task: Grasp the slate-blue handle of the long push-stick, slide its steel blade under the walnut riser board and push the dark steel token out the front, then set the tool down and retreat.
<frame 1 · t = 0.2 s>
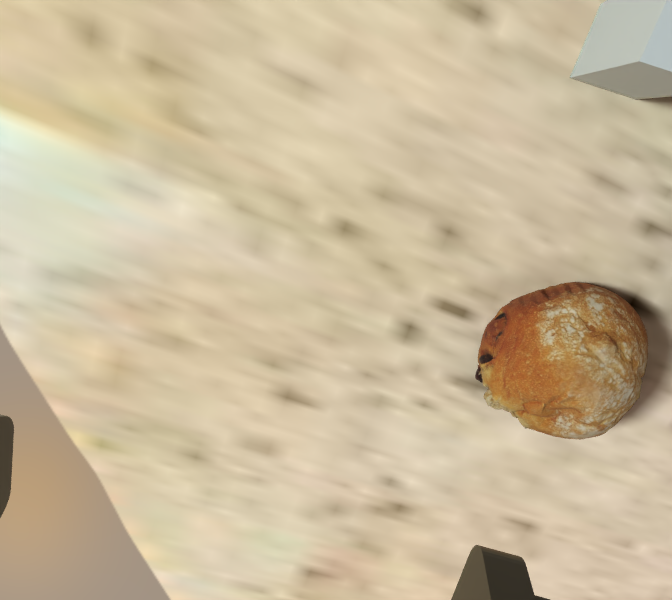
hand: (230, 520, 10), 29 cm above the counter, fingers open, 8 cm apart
blade tool: (618, 52, 32), on the counter
bread roll: (550, 349, 38), on the counter
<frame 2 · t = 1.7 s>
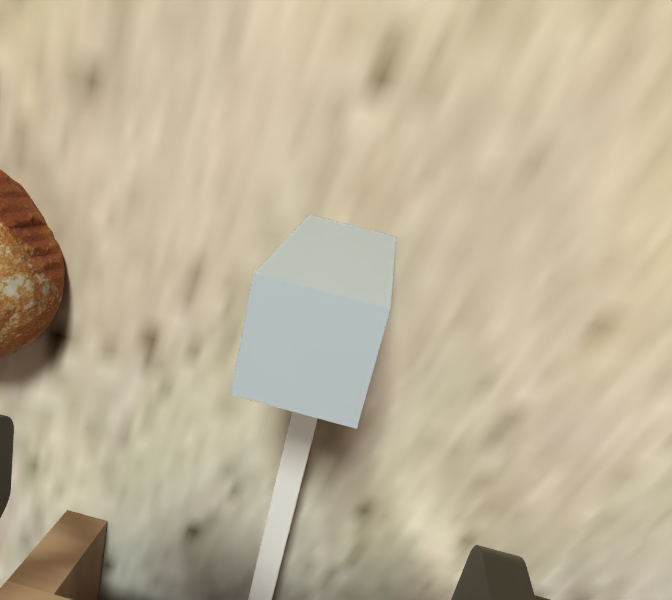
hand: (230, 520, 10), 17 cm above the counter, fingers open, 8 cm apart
blade tool: (342, 267, 26), on the counter
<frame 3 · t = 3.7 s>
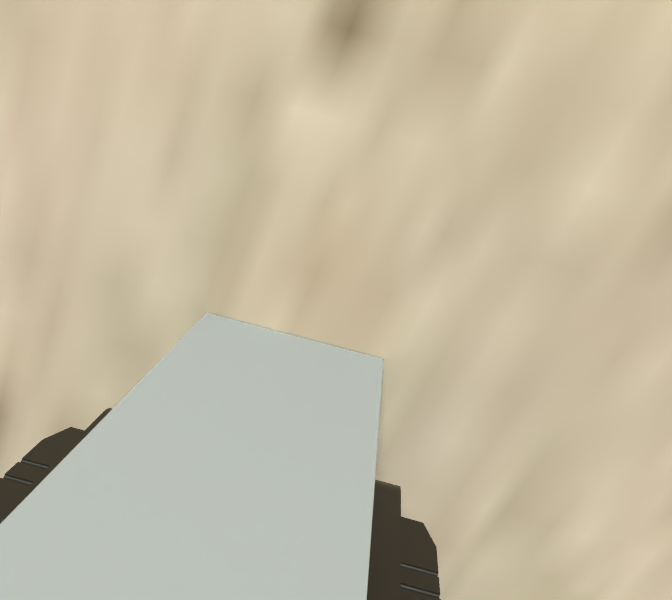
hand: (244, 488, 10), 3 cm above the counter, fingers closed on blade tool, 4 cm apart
blade tool: (276, 413, 13), on the counter, touching gripper
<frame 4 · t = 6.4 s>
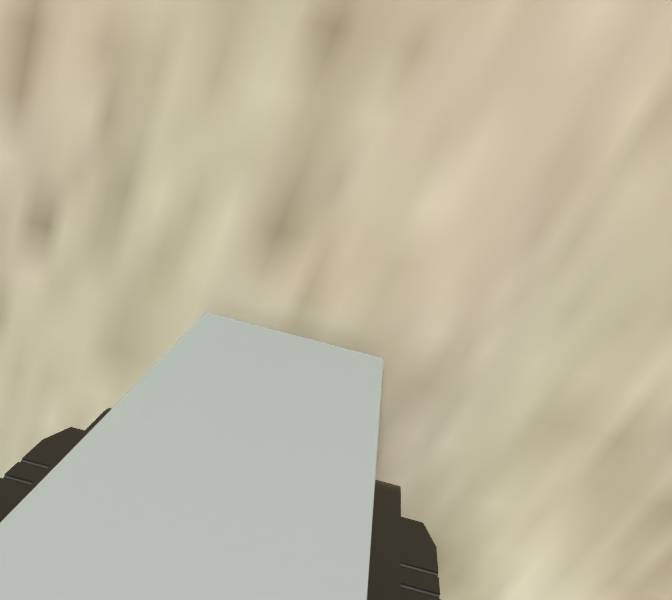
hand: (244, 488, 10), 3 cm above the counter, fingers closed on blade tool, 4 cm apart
blade tool: (276, 413, 13), on the counter, touching gripper
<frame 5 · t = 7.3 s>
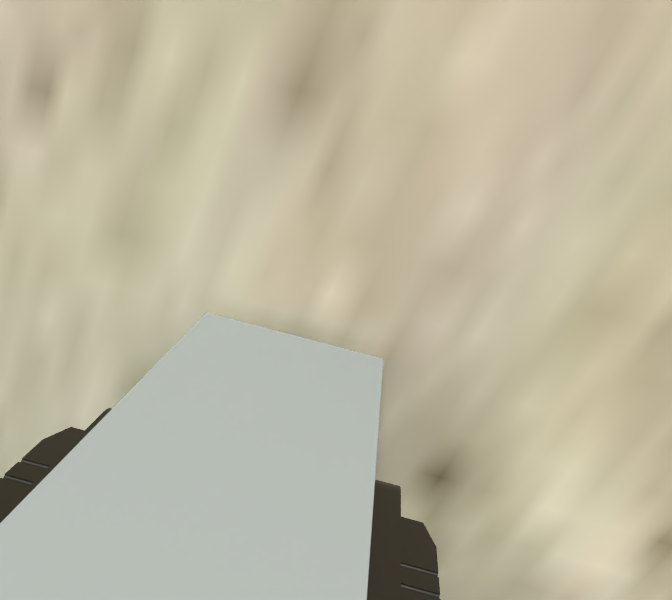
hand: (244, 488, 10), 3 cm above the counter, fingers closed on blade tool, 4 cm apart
blade tool: (276, 413, 13), on the counter, touching gripper, token
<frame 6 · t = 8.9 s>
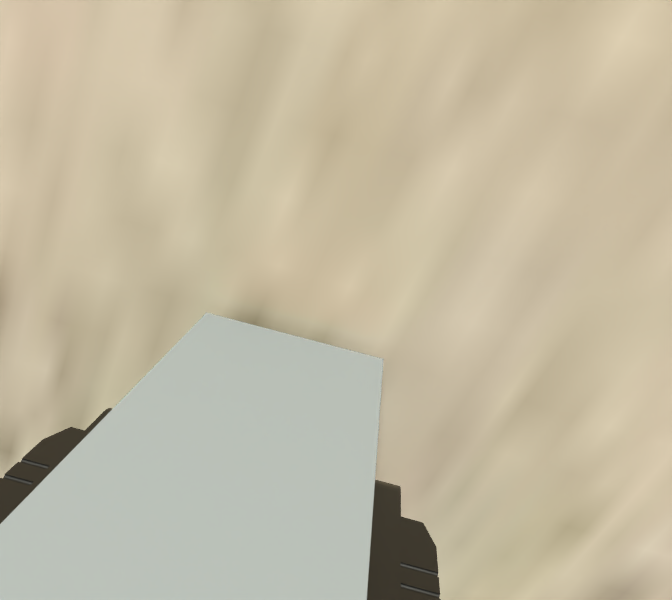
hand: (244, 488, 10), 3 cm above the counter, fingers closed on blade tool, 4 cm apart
blade tool: (276, 413, 13), on the counter, touching gripper
when the fingers open (3 cm above the counter, at t = 9.7 s): blade tool stays where it is, on the counter.
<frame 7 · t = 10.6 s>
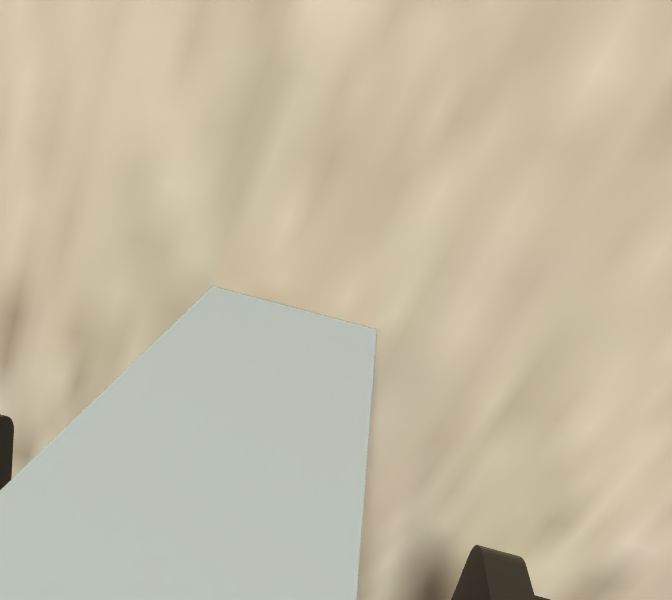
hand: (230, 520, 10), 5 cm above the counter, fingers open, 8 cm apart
blade tool: (277, 381, 14), on the counter
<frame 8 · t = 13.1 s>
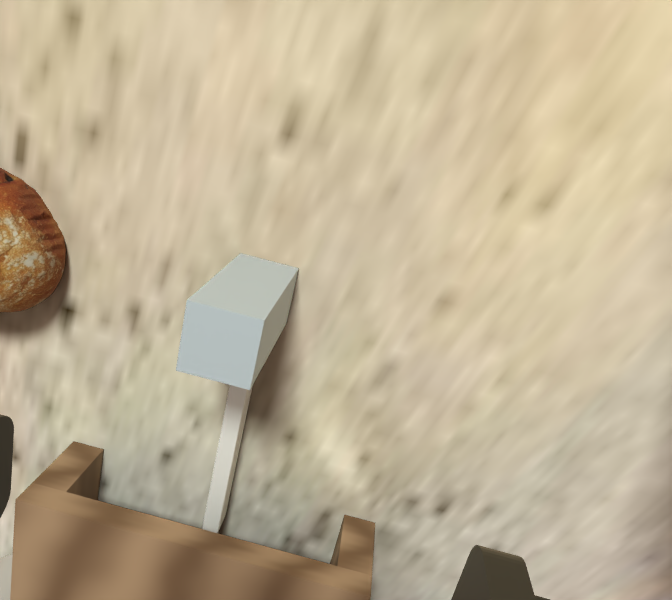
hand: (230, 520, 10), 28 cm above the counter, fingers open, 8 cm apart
blade tool: (263, 288, 38), on the counter
riser: (212, 532, 45), on the counter
bread roll: (1, 234, 39), on the counter
can: (39, 579, 49), on the counter
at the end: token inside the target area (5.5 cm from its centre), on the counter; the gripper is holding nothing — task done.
